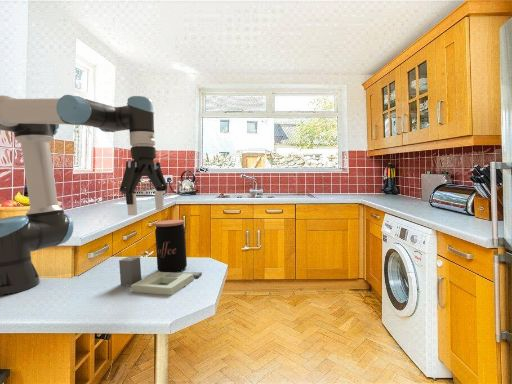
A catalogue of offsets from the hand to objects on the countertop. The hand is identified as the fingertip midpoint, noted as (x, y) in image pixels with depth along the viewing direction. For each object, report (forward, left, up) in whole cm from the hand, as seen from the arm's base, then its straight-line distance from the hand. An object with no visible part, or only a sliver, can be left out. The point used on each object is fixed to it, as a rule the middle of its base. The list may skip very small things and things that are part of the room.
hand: (147, 212), depth 96 cm
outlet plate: (+6, -1, -23) cm, 24 cm away
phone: (+10, +8, -23) cm, 26 cm away
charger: (-7, -1, -23) cm, 24 cm away
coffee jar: (-1, +14, -23) cm, 27 cm away
